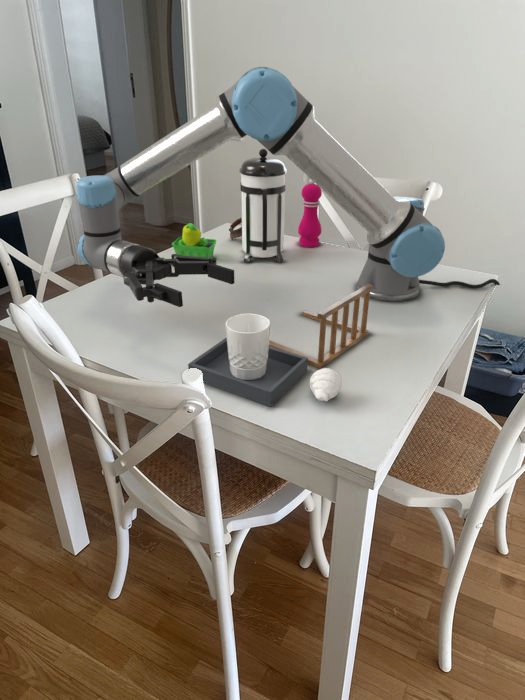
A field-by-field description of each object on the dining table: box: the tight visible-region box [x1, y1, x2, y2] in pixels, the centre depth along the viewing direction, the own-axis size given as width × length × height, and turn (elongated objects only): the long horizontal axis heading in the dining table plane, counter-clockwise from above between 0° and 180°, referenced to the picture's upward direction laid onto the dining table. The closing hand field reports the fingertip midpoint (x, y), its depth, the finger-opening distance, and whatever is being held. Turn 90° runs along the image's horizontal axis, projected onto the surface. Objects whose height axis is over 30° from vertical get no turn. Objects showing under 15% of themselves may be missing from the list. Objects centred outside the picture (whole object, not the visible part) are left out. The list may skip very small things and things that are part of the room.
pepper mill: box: [297, 178, 323, 248], centre depth 163 cm, size 7×7×20 cm
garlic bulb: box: [309, 367, 342, 402], centre depth 91 cm, size 6×6×5 cm
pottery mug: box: [228, 217, 242, 241], centre depth 171 cm, size 12×10×8 cm
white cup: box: [225, 313, 271, 380], centre depth 98 cm, size 8×8×10 cm
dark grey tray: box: [187, 336, 309, 407], centre depth 100 cm, size 18×14×3 cm
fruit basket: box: [171, 222, 217, 258], centre depth 153 cm, size 11×9×11 cm
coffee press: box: [239, 148, 288, 264], centre depth 149 cm, size 17×16×30 cm
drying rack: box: [269, 284, 373, 369], centre depth 110 cm, size 18×16×11 cm
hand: (208, 288), depth 98 cm, fingers open, 13 cm apart
